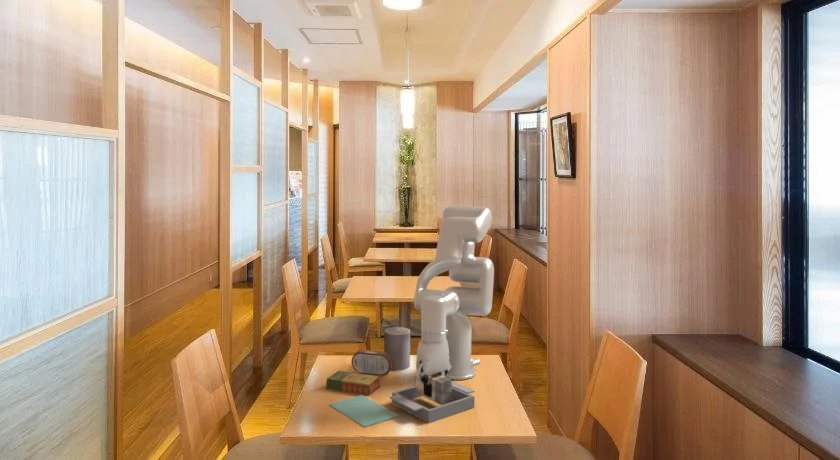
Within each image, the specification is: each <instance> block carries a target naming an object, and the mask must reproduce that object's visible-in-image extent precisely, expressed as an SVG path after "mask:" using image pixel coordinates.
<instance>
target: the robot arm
mask: <svg viewBox="0 0 840 460" xmlns="http://www.w3.org/2000/svg"><path fill="white" fill-rule="evenodd" d="M492 220H493V216H492V211H491V210H490V209H489V208H488V207H487V206H473V205H472V206H470V205H469V206H468V205H467V206H466V205H455V206H454V205H452V206H448V207H446V208H445V209H443V211H442V222H440V223H441V224H440V228H439V235H438V239H437V244H436V245H437V246H436V251H435V257H434V258H433V260H432V261H431V262H429V263H428V264H427V265H426V266H425V267H424V268H423V269H422V271H421V273H420V274H419V276H418V278H417V281H416V285H415V291H414V297H413V305H414V308H415V310H417V312H419V313H420V319H421V325H420V328H421V331H420V332H421V337H420V338H421V340H420V341H419V340H418V344H417V345H418V346H417V350H416V360H415V362H416V363H415V364H416V366H415V367H416V368H415V371H417V372H415V375H414V377H415V378H418V379H420V380H421V381H422V382H423V383H424V395H426V396H428V397H432V385H431V384H430V382H431V375H432V374H435V373H437V374H440V375H442V376H444V377H447V378H449V379H451V380H453V381H454V380H456V381H457V380H459V381H461V380H462V381H463V380H469V379H471V378H474V376H476V370H475V369H474V367H475V366H479V365H480V364H481V360H480V359H475V360H473V358H472V324H471V322H470V320H469V318H468V317H467V315H469V316H479V317H480V316H483V317H484V316H489V314H490V313H491V310H492V306H493V298H494V297H493V295H494V280H495V278H494V277H495V266H494V262H493V261H492V259H490V258H488V257H485V256H475V245H476V244H477V243H481V242H482V241H483V239H484V238H485V236H486V235H487V233H488V231H489V230H490V228H491V225H492ZM447 271H448V277H449V279H450V280H451V281H452V282H455V283H461V284H473V285H478V286H479V287H471V286H470V287H469V286H459V285H458V286H449V287H446V288H445V289H444V290H442V289H428V286H429V283H430V282H431V281H432V279H434V278H435V277H436V276H438V275H440V274H443V273H445V272H447ZM422 372H423V375H422ZM426 376H427V379H426Z"/></svg>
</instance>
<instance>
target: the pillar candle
mask: <svg viewBox="0 0 840 460" xmlns="http://www.w3.org/2000/svg"><path fill="white" fill-rule="evenodd" d="M383 335H384V337H383V342H384V343H383V347H384V348H383V352H386V353H387V354H389V355H390V356H391V358H392V360H393V367H392V369H391V371H395V370H398V371H404V370H406V369H409V368H410V367H411V329H410V328H407V327H402V326H393V327H388V328H386V329H384V334H383Z"/></svg>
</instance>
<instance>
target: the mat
mask: <svg viewBox="0 0 840 460" xmlns="http://www.w3.org/2000/svg"><path fill="white" fill-rule="evenodd" d="M328 405H329V407H332V408H333V409H334V410H336V411H338V412H339V413H341V414H343V415H344V416H345V417H347V418H349V419H350V420H353V422H355V421H356V422H355V423H358V425H360V426H362V427H363V426H364V427H363V428H367V427H370V426H373V425H376V424H380V423H383V422H386V421H389V420H392V419H396V418H398V417H400V415H399V414H398V413H395V412H394V411H392V410H390V409H388V408H386V407H385V406H383V405H382V404H379V403H377V402H376V401H374V400H373V399H370V398H369V397H366V395H362V394H359V395H357V396H352V397H350V398H347V399H346V398H345V399H342V400H339V401H335V402H332V403H329V404H328Z"/></svg>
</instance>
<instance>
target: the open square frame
mask: <svg viewBox="0 0 840 460" xmlns="http://www.w3.org/2000/svg"><path fill="white" fill-rule="evenodd" d="M473 393H475V390H474V389H472V388H469V387H467V386H464V385H463V384H461V383H457V382H455V381H454V380H453V381H452V388H451V400H453V401H451V402H450V403H447V404H444V405H438V406H435V407H432V408H428V407H426V406H424V405H422V404H420V403H418V402H416V401H414V399H417V398H420V397H423V396H422V395H420V394H418V393H417V386H416V385H413V386H410V387H407V388H403V389H399V390H396V391H393V392H391V396H390V397H389V399H390V400H391V404H392V405H394V406H396V407H398V408H399V409H401V410H404V411H405V412H408V413H410V414H411V415H413V416H414V417H417V418H419V419H420V420H423V421H424V422H426V423H428V424H431V423H434V422H436V421H440V420H441V419H445V418H448V417H451V416H453V415H456V414H459V413H462V412H465V411H468V410H471V409H473V408H475V396H474V395H472V394H473Z"/></svg>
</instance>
